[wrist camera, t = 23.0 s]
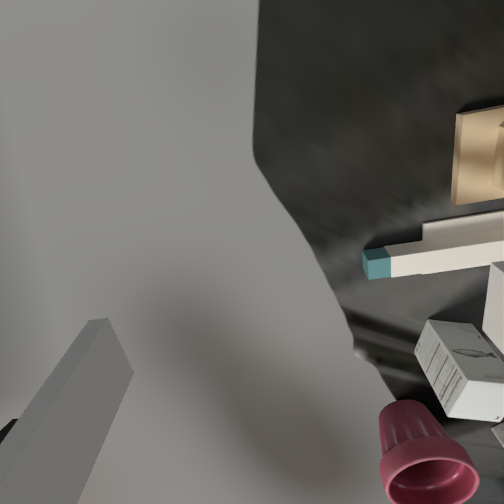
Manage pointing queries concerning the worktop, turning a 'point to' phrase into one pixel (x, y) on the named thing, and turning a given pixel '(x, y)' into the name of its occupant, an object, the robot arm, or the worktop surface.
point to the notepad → (462, 227)
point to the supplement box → (462, 370)
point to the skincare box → (499, 432)
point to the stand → (478, 156)
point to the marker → (434, 254)
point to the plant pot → (422, 458)
